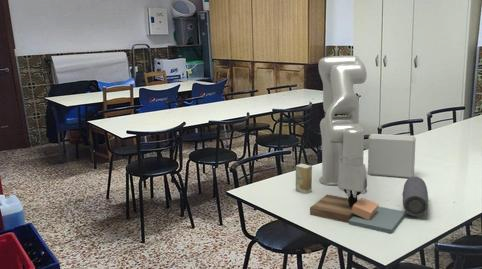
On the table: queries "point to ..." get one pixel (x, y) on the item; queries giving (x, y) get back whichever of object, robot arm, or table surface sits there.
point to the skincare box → (303, 178)
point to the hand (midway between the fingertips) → (352, 205)
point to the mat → (380, 220)
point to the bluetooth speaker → (415, 196)
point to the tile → (364, 208)
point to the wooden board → (333, 208)
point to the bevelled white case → (391, 155)
